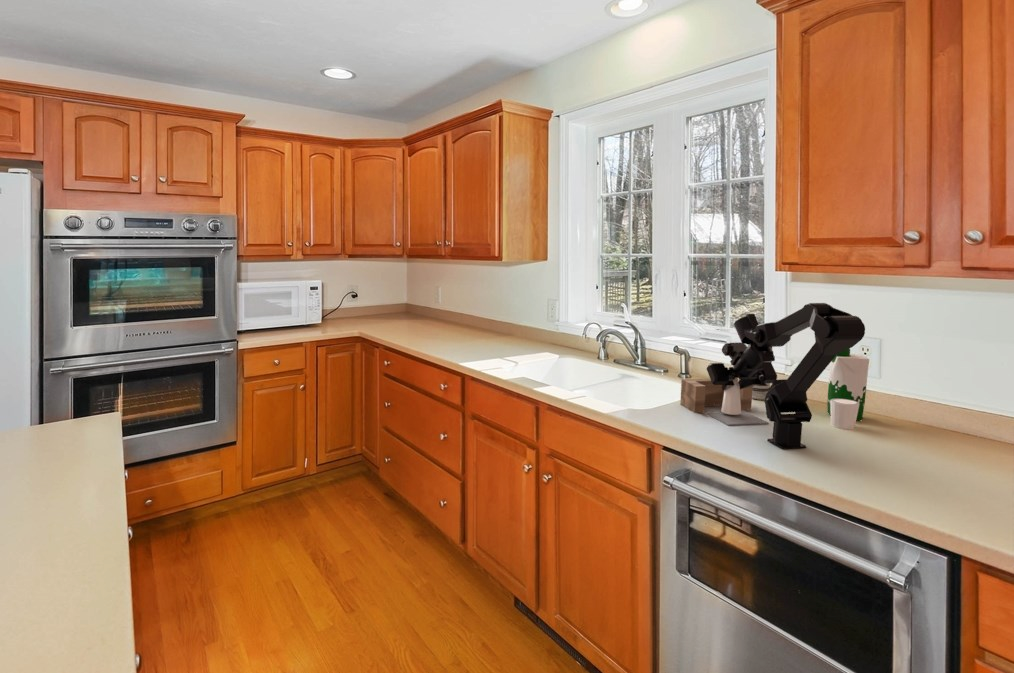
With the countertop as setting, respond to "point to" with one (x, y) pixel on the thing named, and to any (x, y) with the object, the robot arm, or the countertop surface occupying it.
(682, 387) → the wooden u-shaped block
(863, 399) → the milk carton
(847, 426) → the white cup
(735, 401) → the pepper shaker
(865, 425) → the countertop surface
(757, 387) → the spray can
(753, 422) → the grey mat
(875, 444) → the countertop surface
